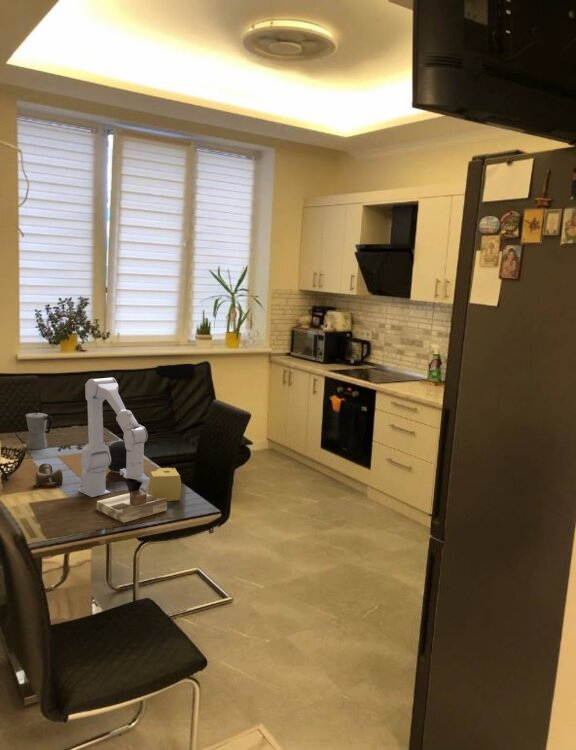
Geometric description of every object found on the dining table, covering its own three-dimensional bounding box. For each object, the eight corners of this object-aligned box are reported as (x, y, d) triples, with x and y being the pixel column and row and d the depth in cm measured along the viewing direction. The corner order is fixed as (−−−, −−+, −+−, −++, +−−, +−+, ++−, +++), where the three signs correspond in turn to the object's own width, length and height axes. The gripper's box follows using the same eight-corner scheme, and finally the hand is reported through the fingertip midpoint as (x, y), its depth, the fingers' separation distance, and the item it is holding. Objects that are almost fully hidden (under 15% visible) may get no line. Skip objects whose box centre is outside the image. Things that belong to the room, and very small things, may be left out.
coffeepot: (18, 447, 288) (18, 408, 285) (32, 442, 296) (32, 405, 294) (45, 452, 282) (45, 413, 280) (59, 447, 291) (59, 409, 289)
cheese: (147, 493, 238) (148, 468, 236) (175, 491, 241) (176, 466, 240) (151, 503, 228) (152, 476, 226) (180, 501, 232) (181, 475, 230)
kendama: (58, 474, 255) (64, 488, 237) (32, 477, 250) (37, 492, 233) (57, 460, 254) (64, 473, 236) (32, 462, 250) (36, 476, 232)
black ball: (96, 478, 251) (97, 441, 249) (118, 470, 263) (119, 435, 261) (123, 484, 246) (123, 447, 244) (144, 475, 258) (145, 440, 256)
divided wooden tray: (96, 509, 218) (96, 497, 218) (139, 498, 232) (139, 486, 231) (123, 522, 208) (123, 509, 207) (166, 510, 222) (167, 498, 221)
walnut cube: (129, 502, 217) (130, 491, 216) (139, 499, 220) (140, 489, 219) (135, 507, 215) (136, 496, 214) (145, 504, 218) (146, 493, 217)
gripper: (112, 458, 219) (112, 496, 220) (137, 468, 209) (136, 507, 211) (129, 455, 224) (128, 491, 226) (155, 464, 215) (153, 502, 217)
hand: (133, 499), depth 219 cm, fingers closed, pressing on walnut cube
